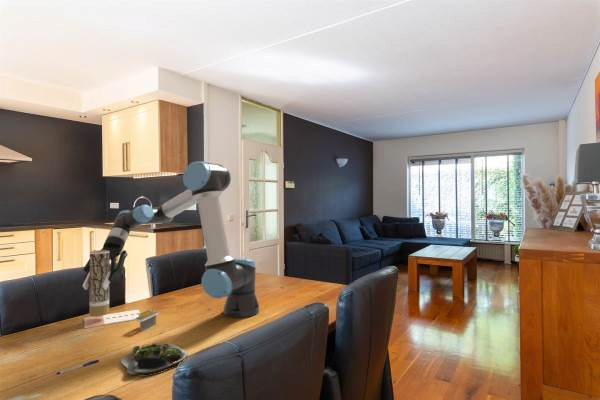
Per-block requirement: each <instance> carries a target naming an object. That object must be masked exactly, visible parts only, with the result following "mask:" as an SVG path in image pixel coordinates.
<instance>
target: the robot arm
mask: <svg viewBox="0 0 600 400" xmlns="http://www.w3.org/2000/svg"><path fill="white" fill-rule="evenodd" d="M182 180H183V184H184V186H185V188H187V189H186V190H185V191H182V192H181V193H179V194H178V195H176V196H174V197H173V198H171V199H169V200H167V201H166V202H165V203H163V204H160V206H157V207H154V206H153V207H152V206H151V205H148V204H141V205H138V206H137V207H135V208H133V209H132V210H128V209H126V210H121V211H120V212H119V213H118V215H116V217H115V220H114V223H113V224H112V226H111V228H110V230H109V232H108V234H107V237H106V239H105V240H104V243H103V246H102V248H101V249H100V250H109V252H110V272H108V274H107V276H106V278H105V280H104V283H103V285H102V287H103V288H104V289H105V290H107V288H108V285H109V286H110V283H111V282H112V281H114V278H115V276H116V275H117V274H121V273H122V270H123V267H124V263H125V259H126V258H127V256H128V255H129V254H128V252H127V250H125V249H124V246H125V244H126V242H127V240H128V237H129V235H130V234H131V231H132V230H133V229H134V228H137V227H139V226H141V225H151V224H166V223H170V222H172V221H173V219H174V217H175V216H177V215H179V214H181V213H182V212H184V211H186V210H188V209H189V208H191V207H193V206H195V205H197V206H198V212H199V218H200V224H201V229H202V232H203V233H202V234H203V240H204V246H205V251H206V257H207V261H206V263H205V264H204V267H205V271H204V272H203V275H202V276H201V286H202V289H203V290H204V292H205V294H206V295H208V296H209V297H211V298H213V299H221V298H225V297H226V300H225V303H224V306H223V314H224V315H225V316H226V317H229V318H241V319H242V318H247V317H248V318H249V317H253V316H256V315H257V314H259V312H260V305H259V302H258V298H257V294H256V262H255V260H254V259H251V258H241V257H240V258H238V257H233V256H232V255H230V250H229V243H228V238H227V233H226V229H225V223H224V217H223V212H222V206H221V201H220V196H221V195H222V193H223V192H224V191H225V190H226V189H228V187H229V186H230V184H231V180H232V178H231V172H230V171H229V170H228V168H227V167H225V165H222V164H219V163H218V164H217V163H213V162H206V161H197V160H196V161H193V162H191V163H189V165H187V166H186V169H184V172H183V175H182ZM93 251H97V250H96V249H94V250H93ZM117 257H119V258H118V261H117ZM82 270H83V271H84V274H85V275H84V278H83V281H84V282H83V284H82V288H83V290H89V289H88V288H90V258H89V259H88V261H87V262H86V264H85V266H84V267H83V268H82Z"/></svg>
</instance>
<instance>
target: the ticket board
mask: <svg viewBox="0 0 600 400" xmlns="http://www.w3.org/2000/svg"><path fill="white" fill-rule="evenodd" d="M140 313H141V311H140V309H133V310H127V311H121V312H114V313H113V312H112V313H108V314H106V315H103V316H97V317H93V316H87V317H83V324H84V325H83V326H84V329H89V328H90V329H91V328H96V327H101V326H108V325H113V324H118V323H119V324H120V323H124V322H130V321H136V320H135V318H137V317H139V314H140Z"/></svg>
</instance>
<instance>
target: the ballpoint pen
mask: <svg viewBox="0 0 600 400" xmlns="http://www.w3.org/2000/svg"><path fill="white" fill-rule="evenodd" d="M99 362H100V360H99V359H94V360H91V361H90V360H89V361H88V362H86V363H83V364H81V365H77V366H74V367H70V368H68V369H63V370H61V371H58V372H56V373H55V374H57V375H60V373H61V374H65V373H67V372H70V370H71V371H73V369H74V370H76V369H77V370H78V369H80V368H84V367H86V366H90V365H93V364H96V363H99Z"/></svg>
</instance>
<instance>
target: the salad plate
mask: <svg viewBox="0 0 600 400" xmlns="http://www.w3.org/2000/svg"><path fill="white" fill-rule="evenodd" d="M186 357H187V358H188V351H186V350H185V349H182V348H181V347H179V346H177V345H175V344H173V343H160V344H157V343H151V344H148V345H145V344H143V345H142V346H141V347H140V346H139V345H136V346H134V347H133V349H132V352H130V353H128V354H126V355H125V356H123V358H121V364H122V365H123V366H124V367H125V368H126V372H127V374H128V375H135V376H138V375H149V376H151V375H150V374H154V373H158V372H161V371H164V370H166V369H169V368H172V367H174V368H176V367H178V366H177V365H178V364H179V363H180V362H182V361H183V360H184V359H185V358H186ZM187 358H186V359H187ZM175 361H176V362H175ZM173 362H175V363H173ZM172 363H173V364H172ZM175 366H176V367H175ZM172 369H173V368H172ZM169 370H170V369H169ZM166 371H167V370H166ZM164 372H165V371H164ZM161 373H162V372H161ZM158 374H159V373H158ZM154 375H155V374H154Z"/></svg>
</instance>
